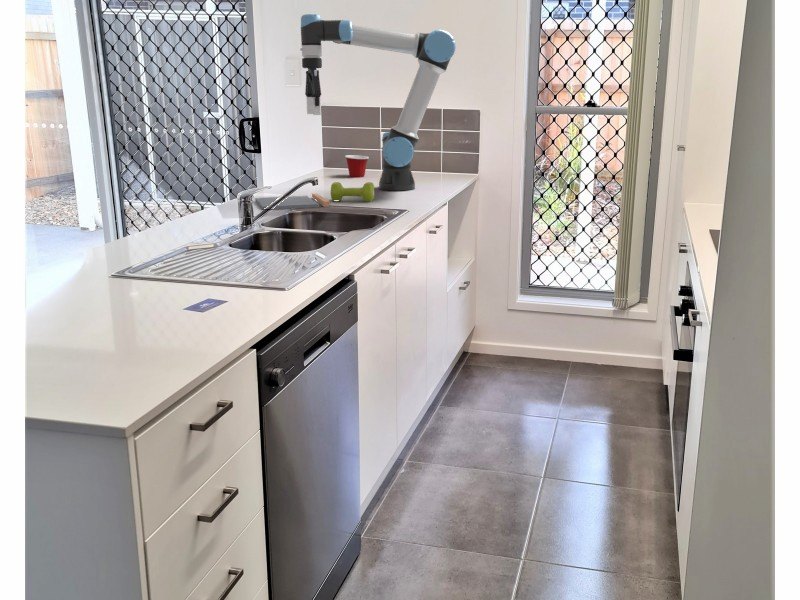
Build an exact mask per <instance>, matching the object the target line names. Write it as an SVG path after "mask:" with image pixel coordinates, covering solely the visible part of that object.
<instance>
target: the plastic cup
mask: <svg viewBox="0 0 800 600" xmlns="http://www.w3.org/2000/svg"><path fill="white" fill-rule="evenodd" d="M344 157H345V158H346V163H347V169H348V170H347V171H348V174H349V178H356V179H357V178H359V179H360V178H364V177H365V175H366V171H367V170H366V169H367V164H368V160H369V158H370V157H369V156H367V155H360V154H358V155H357V154H349V155H348V154H346V155H344Z"/></svg>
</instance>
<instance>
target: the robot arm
mask: <svg viewBox="0 0 800 600" xmlns="http://www.w3.org/2000/svg"><path fill="white" fill-rule="evenodd" d="M300 38H301V39H300V41H301V48H300V51H301V56H302V58H301V66H302V69H307V70H306V71H305V90H304V91H305V97H306V114H307V115H313V116H321V110H322V109H321V96H322V90H321V82H320V71H319V69H322V67H323V59H322V58H321V57H322V56H323V54H322V52H323V51H322V48H323V47H322V42H333V43H335V44H337V45H339V44H343V45H350V46H355V47H357V46H358V47H362V48H368V49H375V50H382V51H389V52H393V53H401V54H409V55H412V56H413V57H414V58H416V59H417V62H418V64H419V65H418V69H417V71H416V75H415V76H414V79H413V82H412V84H411V87H410V90H409V92H408V95H407V98H406V100H405V103H404V105H403V108H402V111H401V113H400V115H399V118H398V121H397V124H396V125H393V126H391V128H390V131H385V132H383V134H382V138H381V141H382V172H381V176H380V178H379V181H378V182H379V183H378V190H383V191H410V190H414V189H416V182H415V179H414V175H413V173H412V160H413V158H414V153H415V149H416V147H417V144H418V142H419V139H420V138H419V136H418V131H419V129H420V126H421V124H422V121H423V119H424V116H425V114H426V111H427V109H428V107H429V106H428V105H429V104H430V101H431V98H432V96H433V94H434V91H435V88H436V86H437V83H438V81H439V78H440V75H441V74H443V73H446V72H447V69H448V66H449V63H450V61H451V59H452V58H453V56H454V54H455V51H456V41H455V38H454V37H453V36H452V35H451V33H450V32H448V31H446V30H443V29H435V30H433V31H431V32H427V33H425V32H416V34H412V33H406V32H405V33H404V32H401V31H400V32H399V31H393V30H387V29H380V28H375V27H374V28H373V27H367V26H361V25H355V24H353V22H352V21H351V20H348V19H347V20H346V19H335V20H334V19H333V20H330V19H329V20H328V19H327V20H326V19H325V20H324V19H322V18H321V16H320V14H316V13H315V14H313V13H312V14H311V13H310V14H309V13H306V14H303V15H301V17H300Z"/></svg>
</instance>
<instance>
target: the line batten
mask: <svg viewBox="0 0 800 600" xmlns="http://www.w3.org/2000/svg"><path fill="white" fill-rule="evenodd" d="M311 197H313V198H314V199H316V200H317V201H318V202H319V203H320V204H321V206H322V207H323V208H330V200H328V199H327V198H325V197H324V196H322V195H321V194H319V193H314V192H313V193H311ZM313 198H312V199H313ZM314 199H313V200H314ZM318 202H317V203H318ZM319 203H318V204H319ZM320 204H319V205H320Z"/></svg>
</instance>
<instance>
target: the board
mask: <svg viewBox="0 0 800 600" xmlns="http://www.w3.org/2000/svg"><path fill="white" fill-rule="evenodd" d="M278 197H279V196H272V197H271V196H270V197H255V198H254V199H255V200H254V201H255V203H256V204H257V205H258V206H259V207H260V208H261V210H263V209H264V208H266V207H267V206H269V205H270V204H271V203H272V202H274V201H275V200H276V199H277V198H278ZM287 197H288V198H287V199H285V200H284V201H283V202H281V203H280V204H279V205H277V206H276V207H275V208H274V209H273V210H288V209H289V210H290V209H291V210H292V209H293V210H294V209H310V208H311V209H312V208H319V206H320V204H319V203H318V202H316V201H315V200H314V199H313V198H310V197H309V196H308V195H298V196H297V195H294V196H287Z"/></svg>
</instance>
